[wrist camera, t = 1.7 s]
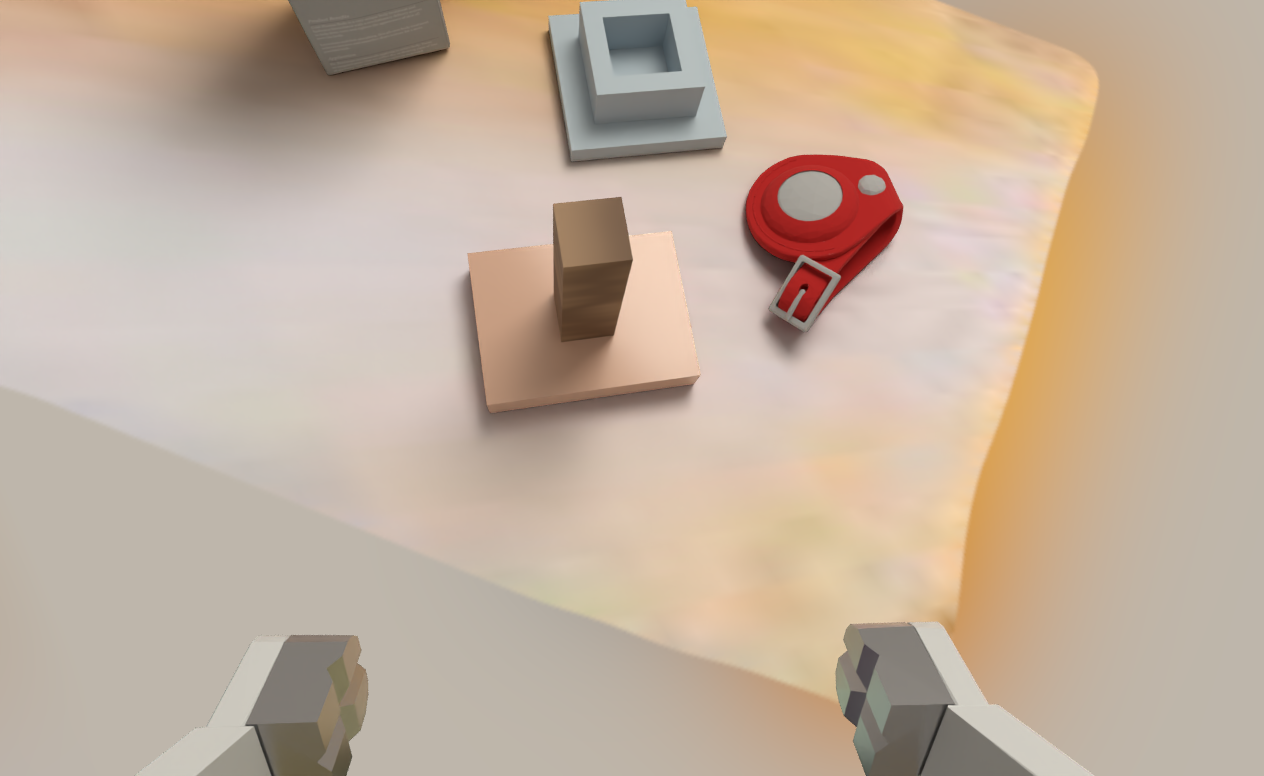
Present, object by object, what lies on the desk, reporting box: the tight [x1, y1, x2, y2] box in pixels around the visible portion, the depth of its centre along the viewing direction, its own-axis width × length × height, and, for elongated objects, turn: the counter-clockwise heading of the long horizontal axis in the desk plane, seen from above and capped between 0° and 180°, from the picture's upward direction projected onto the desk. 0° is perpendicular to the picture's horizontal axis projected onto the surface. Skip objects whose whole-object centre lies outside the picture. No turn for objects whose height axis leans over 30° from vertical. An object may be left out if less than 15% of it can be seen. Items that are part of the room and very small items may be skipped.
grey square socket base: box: [549, 0, 727, 162], centre depth 44 cm, size 10×10×4 cm
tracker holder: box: [746, 155, 903, 332], centre depth 43 cm, size 12×4×10 cm
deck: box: [468, 231, 701, 413], centre depth 40 cm, size 12×9×2 cm
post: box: [553, 197, 633, 342], centre depth 35 cm, size 3×3×10 cm
